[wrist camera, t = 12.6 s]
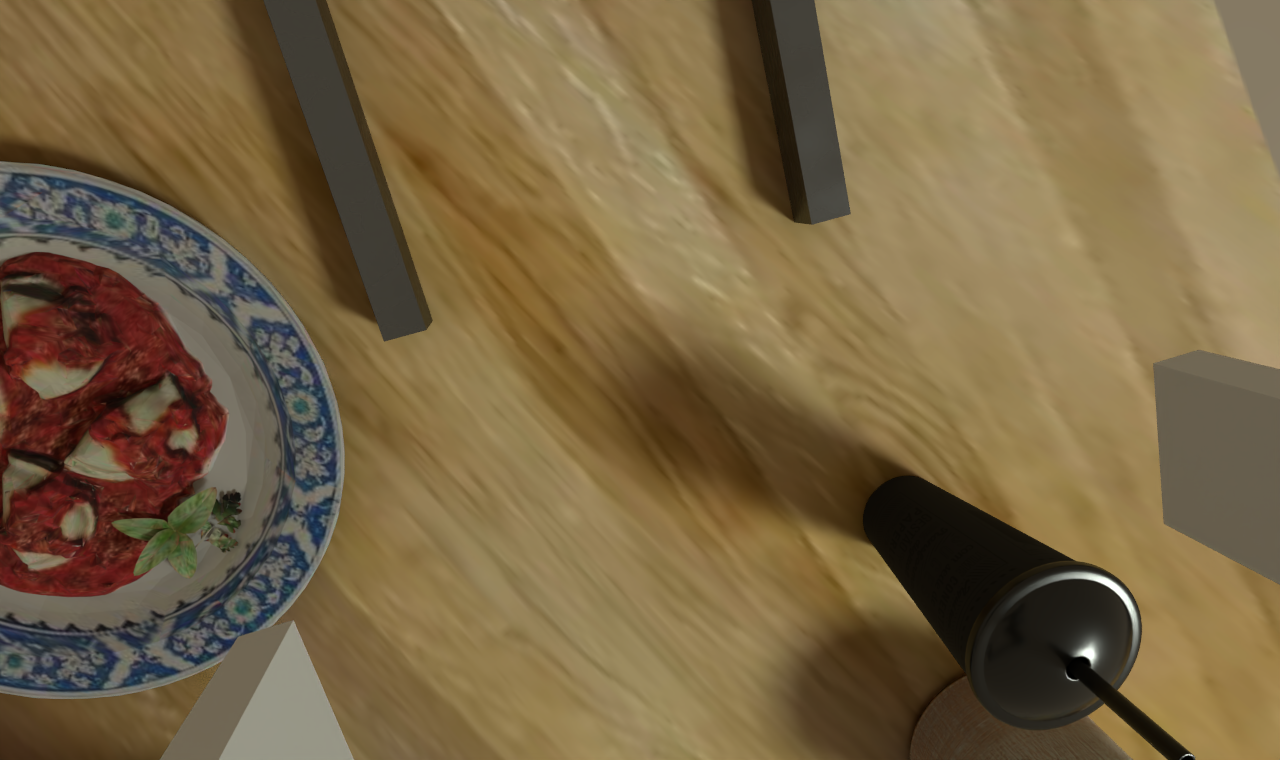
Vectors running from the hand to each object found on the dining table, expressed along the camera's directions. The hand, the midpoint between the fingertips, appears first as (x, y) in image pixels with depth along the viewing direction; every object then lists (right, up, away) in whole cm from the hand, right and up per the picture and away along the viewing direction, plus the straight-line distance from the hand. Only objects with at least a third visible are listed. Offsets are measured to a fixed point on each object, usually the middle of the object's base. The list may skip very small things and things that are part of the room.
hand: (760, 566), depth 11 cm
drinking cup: (+13, -5, +33) cm, 36 cm away
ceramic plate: (-29, 0, +26) cm, 39 cm away
